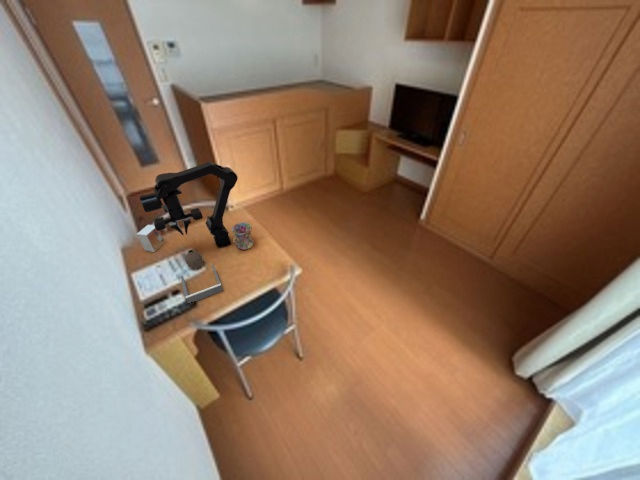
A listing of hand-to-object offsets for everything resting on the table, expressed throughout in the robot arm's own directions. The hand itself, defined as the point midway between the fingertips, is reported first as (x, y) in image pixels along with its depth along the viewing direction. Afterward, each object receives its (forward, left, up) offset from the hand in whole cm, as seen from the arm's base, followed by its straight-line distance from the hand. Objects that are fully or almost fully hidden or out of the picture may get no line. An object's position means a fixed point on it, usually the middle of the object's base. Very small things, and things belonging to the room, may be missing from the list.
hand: (184, 234), depth 121 cm
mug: (-23, +7, -12) cm, 27 cm away
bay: (0, +23, -12) cm, 26 cm away
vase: (0, +9, -12) cm, 15 cm away
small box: (+15, -15, -12) cm, 25 cm away
